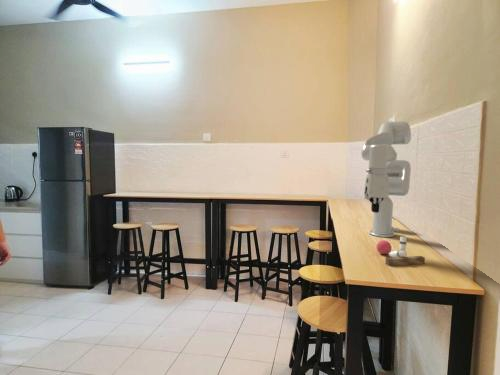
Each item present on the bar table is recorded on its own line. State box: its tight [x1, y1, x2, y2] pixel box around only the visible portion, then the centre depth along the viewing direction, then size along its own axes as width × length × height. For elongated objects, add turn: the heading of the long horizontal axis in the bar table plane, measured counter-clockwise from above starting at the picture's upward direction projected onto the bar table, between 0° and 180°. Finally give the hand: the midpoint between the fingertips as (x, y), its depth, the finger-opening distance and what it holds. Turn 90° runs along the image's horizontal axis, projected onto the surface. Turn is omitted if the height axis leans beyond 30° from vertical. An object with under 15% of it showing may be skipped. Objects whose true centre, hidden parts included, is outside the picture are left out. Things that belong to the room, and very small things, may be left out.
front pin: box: [387, 250, 407, 258], centre depth 128 cm, size 3×3×9 cm
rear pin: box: [398, 235, 408, 253], centre depth 131 cm, size 3×3×9 cm
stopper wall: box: [385, 255, 426, 267], centre depth 124 cm, size 16×2×2 cm, turn 101°
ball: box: [376, 240, 392, 255], centre depth 136 cm, size 6×6×6 cm
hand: (375, 211), depth 144 cm, fingers closed
